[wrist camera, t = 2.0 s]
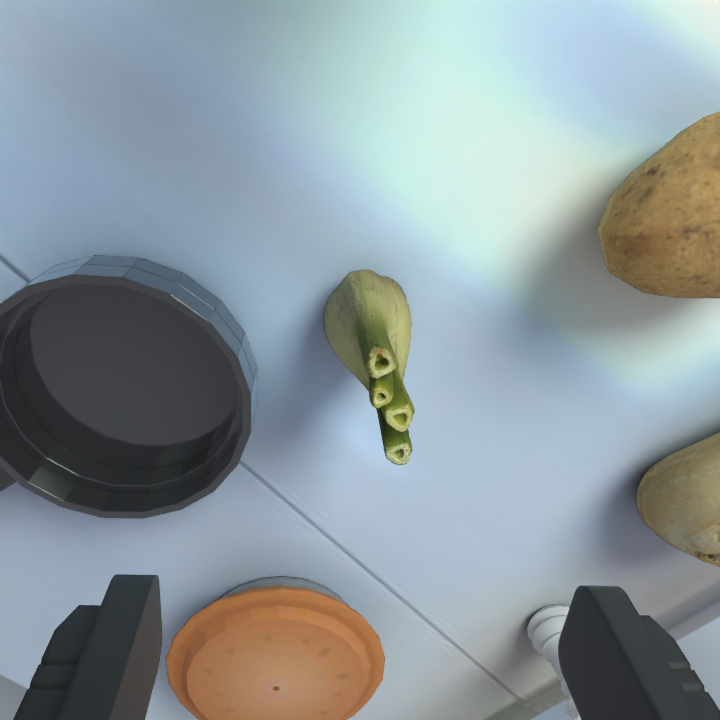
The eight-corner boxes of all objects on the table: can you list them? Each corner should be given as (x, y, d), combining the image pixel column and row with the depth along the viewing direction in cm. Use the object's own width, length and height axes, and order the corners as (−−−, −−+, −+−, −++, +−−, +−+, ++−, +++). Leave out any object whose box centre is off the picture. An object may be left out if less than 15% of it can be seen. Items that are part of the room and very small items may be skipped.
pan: (-58, 340, 34) (-103, 373, 31) (149, 200, 32) (127, 217, 28) (119, 511, 40) (99, 556, 37) (304, 404, 38) (303, 441, 34)
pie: (418, 635, 48) (429, 694, 43) (268, 721, 51) (264, 784, 46) (295, 517, 42) (292, 570, 37) (133, 622, 45) (113, 683, 40)
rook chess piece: (533, 648, 49) (572, 746, 42) (517, 613, 47) (554, 709, 40) (585, 629, 49) (633, 725, 41) (571, 593, 47) (619, 687, 40)
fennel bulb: (389, 360, 37) (421, 477, 26) (311, 343, 36) (311, 457, 25) (418, 273, 35) (465, 361, 24) (335, 252, 34) (346, 334, 23)
